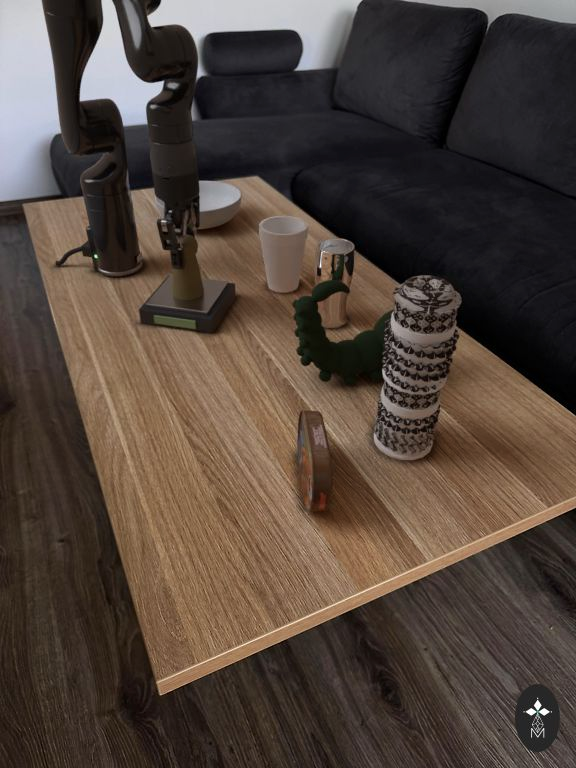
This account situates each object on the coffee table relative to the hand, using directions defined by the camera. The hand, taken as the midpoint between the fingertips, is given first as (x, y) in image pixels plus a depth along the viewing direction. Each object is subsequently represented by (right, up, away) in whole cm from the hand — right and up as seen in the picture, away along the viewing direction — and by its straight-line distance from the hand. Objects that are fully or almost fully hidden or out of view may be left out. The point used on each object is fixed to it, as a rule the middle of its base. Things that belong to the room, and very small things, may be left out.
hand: (184, 260), depth 108 cm
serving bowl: (-3, +18, +40) cm, 44 cm away
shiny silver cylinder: (+27, -10, +4) cm, 29 cm away
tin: (+22, -36, -29) cm, 51 cm away
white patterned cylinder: (+35, -31, -22) cm, 52 cm away
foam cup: (+18, -2, +14) cm, 23 cm away
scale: (0, -8, +6) cm, 10 cm away
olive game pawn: (0, -5, +4) cm, 7 cm away
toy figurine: (+32, -21, -9) cm, 39 cm away
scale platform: (0, -6, +4) cm, 7 cm away
